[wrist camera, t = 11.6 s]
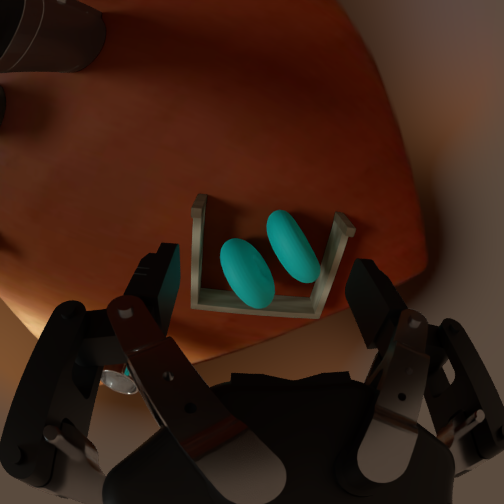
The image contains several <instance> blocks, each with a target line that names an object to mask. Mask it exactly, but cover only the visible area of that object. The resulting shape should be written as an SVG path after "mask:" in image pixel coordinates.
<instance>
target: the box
mask: <svg viewBox="0 0 504 504" xmlns="http://www.w3.org/2000/svg"><path fill="white" fill-rule="evenodd" d="M206 203H207V195H206V194H198V195H197V197H196V199H195V201H194V204H193V206H192V208H191V217H192V218H193V234H192V263H191V309H200V310H209V311H218V312H228V313H239V314H250V315H263V316H277V317H293V318H313V319H319V317H320V315H321V312H322V310H323V307H324V305H325V302H326V299H327V297H328V294H329V291H330V289H331V286H332V283H333V281H334V278H335V275H336V272H337V269H338V266H339V264H340V261H341V258H342V255H343V252H344V249H345V246H346V243H347V240H348V236H349V237H354V234H355V231H356V228H355V227H354V226H353V224H352V223H351V222H350V221H349V219H348V218H347V217H346V216H345V214H344V213H341V212H335V216H334V222H333V225H332V229H331V232H330V236H329V239H328V243H327V246H326V249H325V253H324V256H323V259H322V262H321V266H320V275H319V277H318V279H317V280H316V281H315V284H314V287H313V290H312V293H311V296H310V298H307V297H293V296H280V295H274V298H273V300H272V302H271V303H270V304H269V305H268V306H267V307H265V308H262V309H256V308H253V307H250V306H248V305H247V304H245V303H244V302H243V301H242V300H241V299H240V298H239V297H238V296H237V295H236V293H235V292H234V291H225V290H216V289H207V288H201V272H202V252H203V235H204V220H205V207H206Z"/></svg>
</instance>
